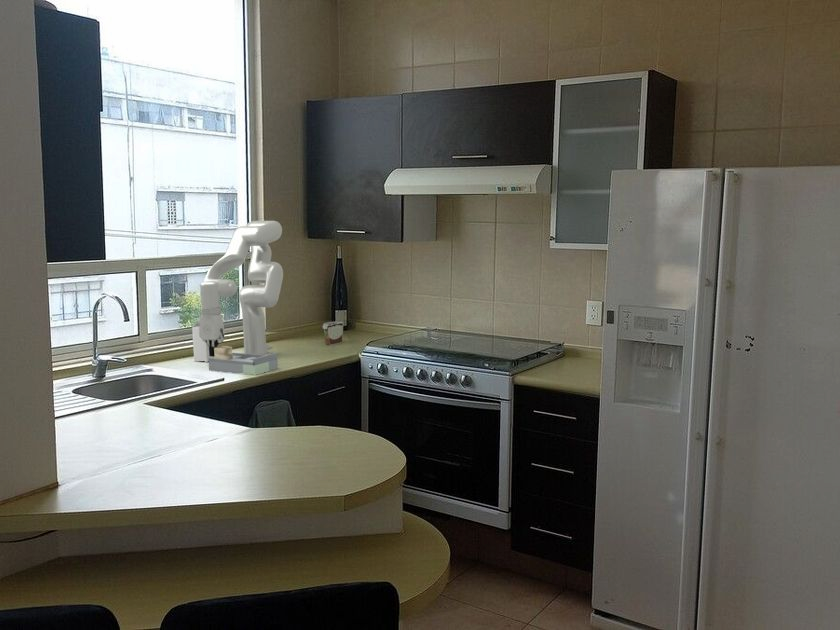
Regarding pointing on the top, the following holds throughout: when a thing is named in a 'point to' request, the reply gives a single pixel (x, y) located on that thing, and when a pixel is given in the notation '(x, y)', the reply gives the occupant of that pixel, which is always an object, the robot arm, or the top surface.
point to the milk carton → (199, 345)
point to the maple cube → (223, 352)
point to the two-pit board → (245, 363)
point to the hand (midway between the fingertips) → (213, 355)
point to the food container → (333, 332)
